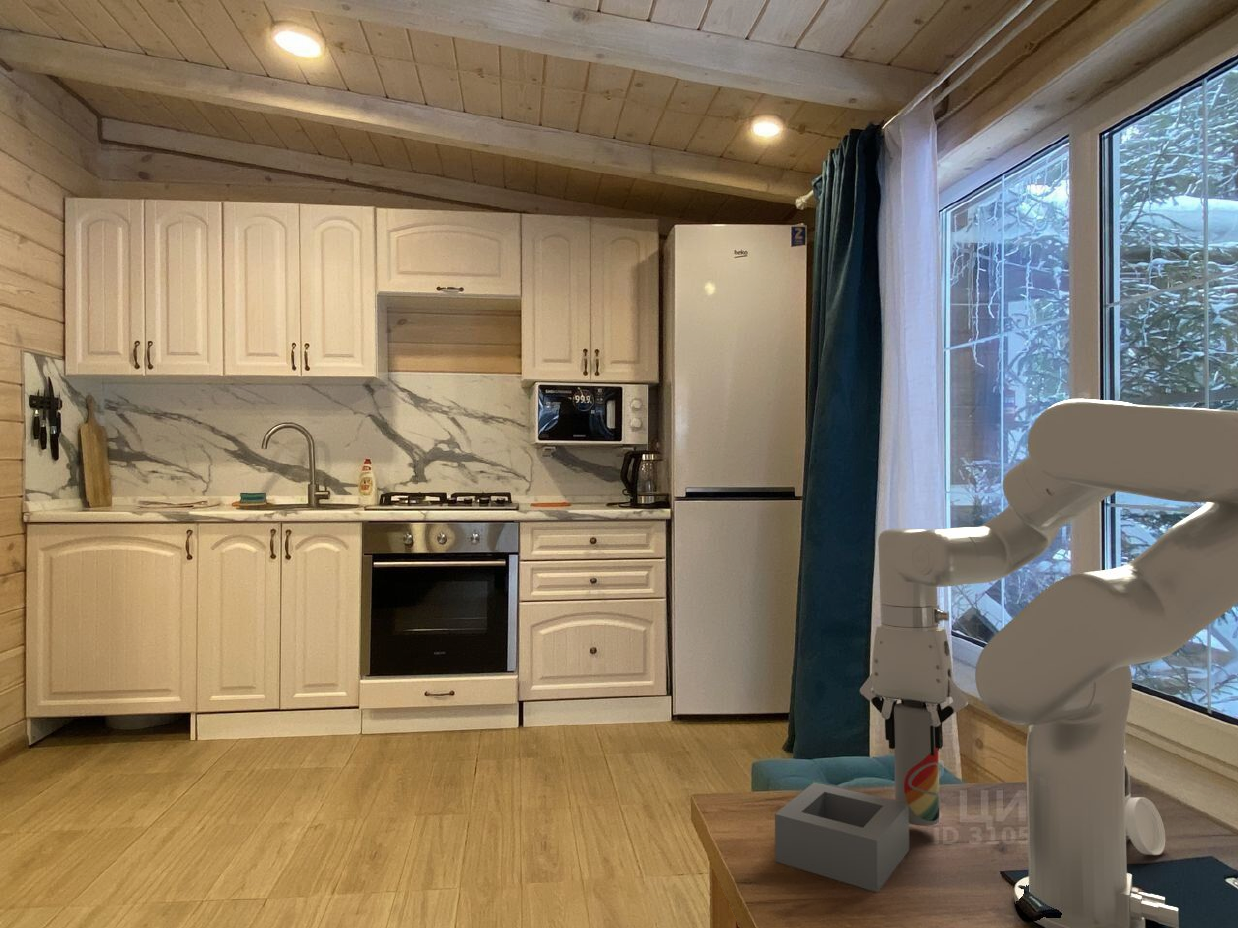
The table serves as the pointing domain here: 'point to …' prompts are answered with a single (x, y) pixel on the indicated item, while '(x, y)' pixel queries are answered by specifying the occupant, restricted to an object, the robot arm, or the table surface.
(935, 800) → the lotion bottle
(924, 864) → the table surface
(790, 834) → the sleeve
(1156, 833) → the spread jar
